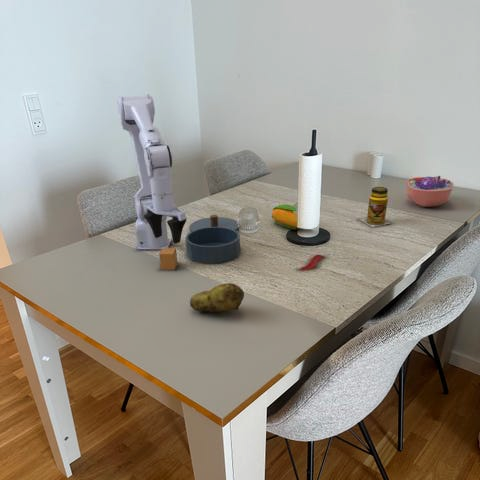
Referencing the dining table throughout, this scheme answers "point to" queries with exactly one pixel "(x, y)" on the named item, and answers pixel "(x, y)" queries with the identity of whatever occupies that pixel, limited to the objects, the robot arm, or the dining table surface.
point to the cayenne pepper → (312, 262)
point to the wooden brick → (168, 258)
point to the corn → (285, 216)
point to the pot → (213, 245)
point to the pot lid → (214, 223)
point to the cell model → (429, 190)
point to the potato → (218, 298)
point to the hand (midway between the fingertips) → (167, 239)
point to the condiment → (377, 207)
